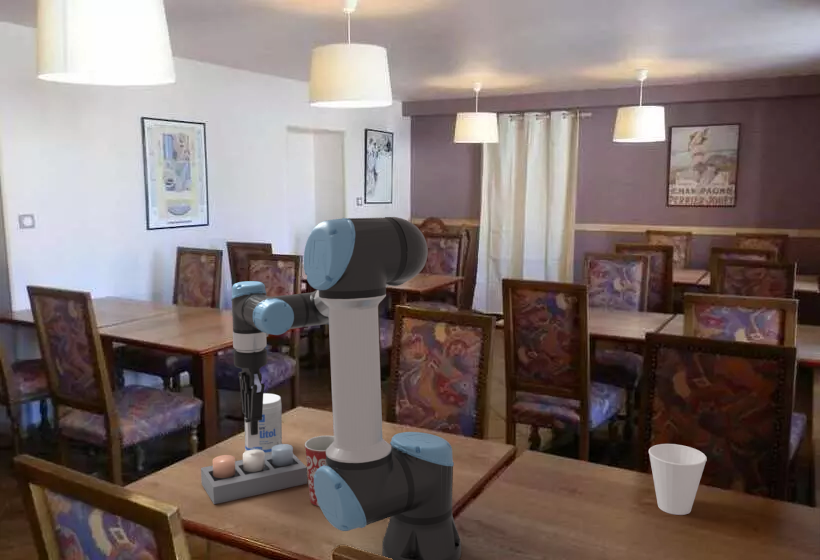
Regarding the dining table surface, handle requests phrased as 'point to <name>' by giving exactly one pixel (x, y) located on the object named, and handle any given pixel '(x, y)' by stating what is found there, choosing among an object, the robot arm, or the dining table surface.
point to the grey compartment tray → (253, 480)
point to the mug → (316, 460)
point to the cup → (676, 476)
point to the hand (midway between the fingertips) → (253, 446)
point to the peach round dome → (224, 466)
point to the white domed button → (253, 460)
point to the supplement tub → (269, 424)
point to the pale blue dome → (282, 454)
